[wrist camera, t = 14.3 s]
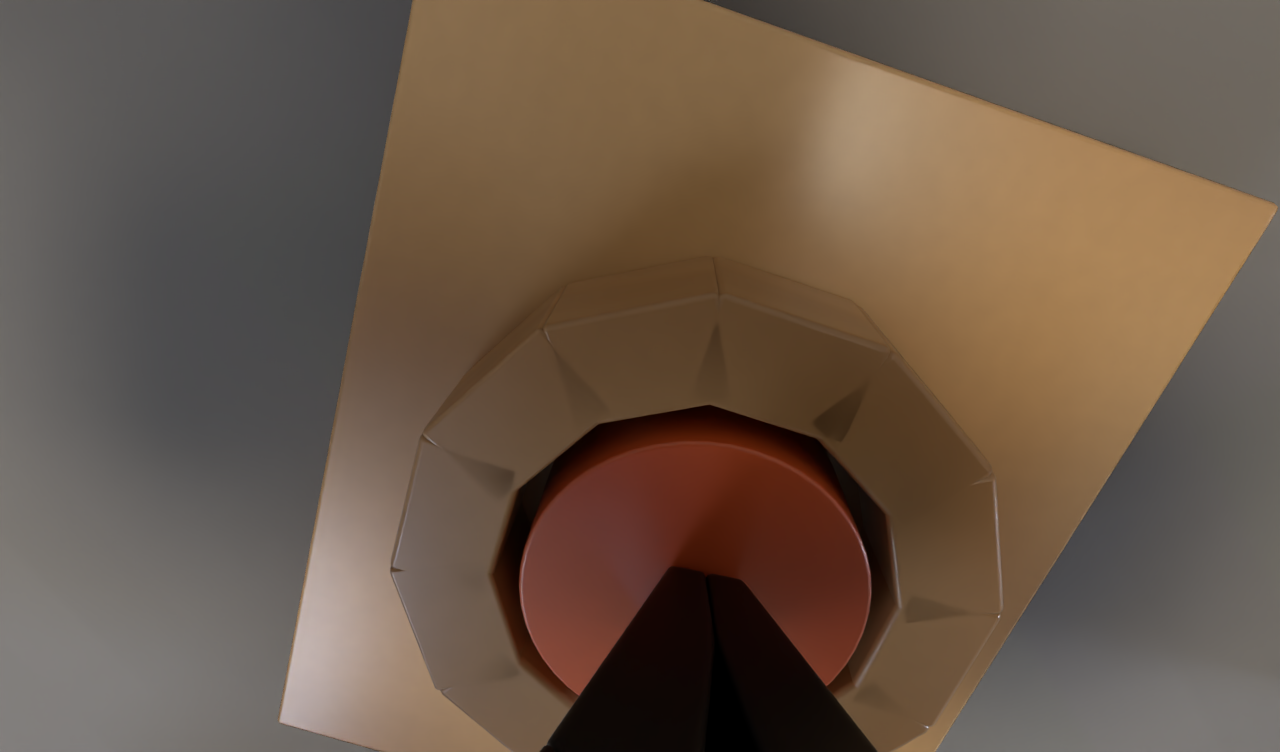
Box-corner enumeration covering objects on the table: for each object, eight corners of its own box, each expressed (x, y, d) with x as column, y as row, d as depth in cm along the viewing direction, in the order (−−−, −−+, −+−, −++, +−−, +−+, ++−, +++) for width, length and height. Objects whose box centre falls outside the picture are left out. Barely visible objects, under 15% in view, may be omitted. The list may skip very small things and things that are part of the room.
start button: (775, 670, 11) (791, 771, 9) (512, 592, 11) (481, 682, 9) (892, 436, 10) (934, 507, 8) (591, 339, 9) (572, 393, 8)
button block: (830, 775, 15) (879, 1006, 11) (333, 632, 14) (210, 826, 11) (1167, 182, 11) (1430, 235, 7) (480, -62, 10) (360, -148, 6)
